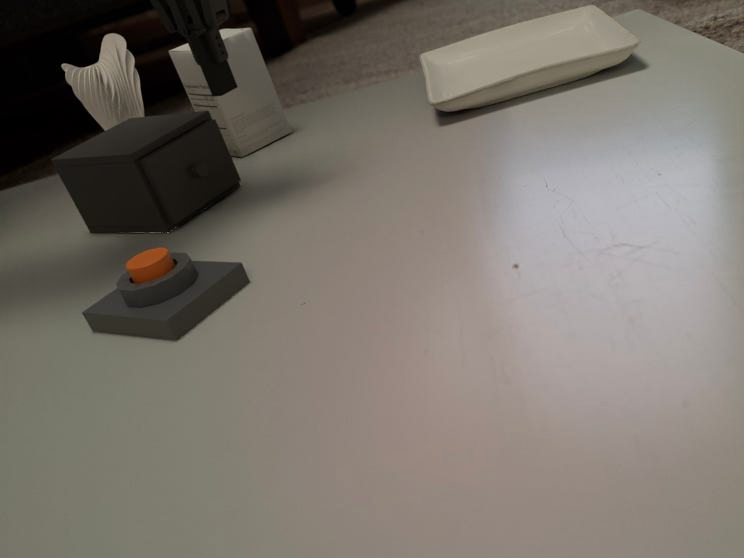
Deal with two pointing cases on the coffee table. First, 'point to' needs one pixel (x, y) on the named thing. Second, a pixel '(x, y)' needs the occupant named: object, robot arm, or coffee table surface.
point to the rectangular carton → (237, 94)
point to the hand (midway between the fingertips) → (225, 91)
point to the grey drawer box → (124, 174)
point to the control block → (167, 299)
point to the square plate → (524, 58)
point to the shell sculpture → (108, 84)
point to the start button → (150, 265)
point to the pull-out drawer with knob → (190, 170)
